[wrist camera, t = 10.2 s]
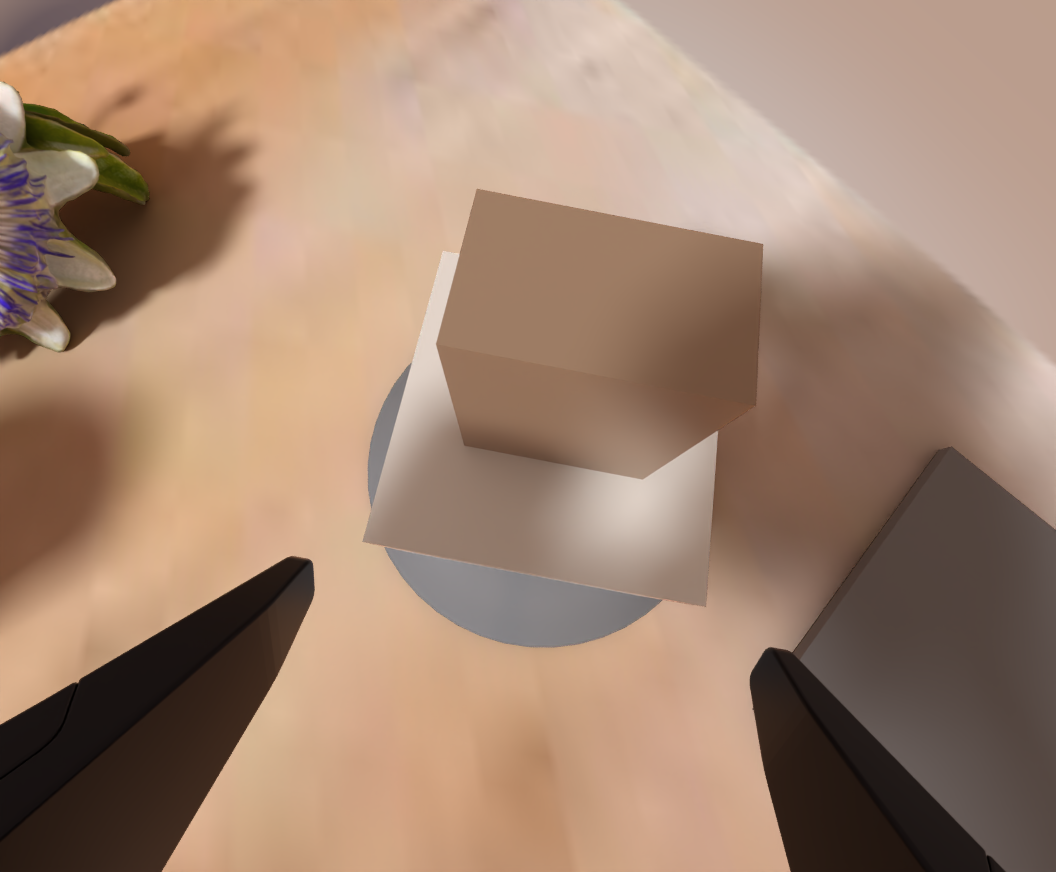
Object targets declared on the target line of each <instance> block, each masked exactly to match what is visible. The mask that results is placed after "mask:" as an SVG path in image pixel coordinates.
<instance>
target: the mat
mask: <svg viewBox="0 0 1056 872" xmlns="http://www.w3.org/2000/svg"><path fill="white" fill-rule="evenodd" d="M793 654H794V655H795V656H796V657H797V658H798V659H799V660H800V661H801V662H802V663H803V664H804V665H805V666H806V667H807V668H808V669H809V670H810V671H811V672H812V673H813V674H814V675H815V676H816V677H817V678H818V679H819V680H820V681H821V682H822V683H823V684H824V686H825V687H826V688H827V689H828V690H829V691H830V692H831V693H832V694H833V695H834V696H835V697H836V698H837V699H838V700H839V701H840V702H841V703H842V704H843V705H844V706H845V707H846V708H847V709H848V710H849V711H850V712H851V713H852V714H853V715H854V716H855V717H856V718H857V719H858V720H859V721H860V722H861V723H862V724H863V725H864V727H865V728H866V729H867V730H868V731H869V732H870V733H871V734H872V735H873V736H874V737H875V738H876V739H877V740H878V741H879V742H880V743H881V744H882V745H883V746H884V747H885V748H886V749H887V750H888V751H889V752H890V753H891V754H892V755H893V756H894V757H895V758H896V759H897V760H898V761H899V762H900V763H901V764H902V765H903V766H904V768H905V769H906V770H907V771H908V772H909V773H910V774H911V775H912V776H913V777H914V778H915V779H916V780H917V781H918V782H919V783H920V784H921V785H922V786H923V787H924V788H925V789H926V790H927V791H928V792H929V793H930V794H931V795H932V796H933V797H934V798H935V799H936V800H937V801H938V802H939V803H940V804H941V805H942V806H943V808H944V809H945V810H946V811H947V812H948V813H949V814H950V815H951V816H952V817H953V818H954V819H955V820H956V821H957V822H958V823H959V824H960V825H961V826H962V827H963V828H964V829H965V830H966V831H967V832H968V833H969V834H970V835H971V836H972V837H973V838H974V839H975V840H976V841H977V842H978V843H979V844H980V845H981V846H982V847H983V849H984V850H985V851H986V854H987V855H989V856H991V857H992V858H993V859H994V860H995V861H996V862H997V863H998V864H999V865H1000V866H1001V867H1002V868H1003V869H1004V870H1005V871H1006V872H1056V530H1055V529H1053V528H1052V527H1051V526H1050V525H1048V524H1047V523H1046V522H1045V521H1043V520H1042V519H1041V518H1040V517H1038V516H1037V515H1036V514H1035V513H1034V512H1032V511H1031V510H1030V509H1029V508H1027V507H1026V506H1025V505H1024V504H1022V503H1021V502H1020V501H1019V500H1017V499H1016V498H1015V497H1014V496H1012V495H1011V494H1010V493H1009V492H1007V491H1006V490H1005V489H1004V488H1002V487H1001V486H1000V485H999V484H997V483H996V482H995V481H994V480H992V479H991V478H990V477H989V476H987V475H986V474H985V473H984V472H982V471H981V470H980V469H979V468H977V467H976V466H975V465H974V464H973V463H971V462H970V461H969V460H968V459H966V458H965V457H964V456H963V455H961V454H960V453H959V452H958V451H956V450H955V449H954V448H953V447H948V448H944V449H941V450H938V452H937V453H936V455H935V456H934V457H933V459H932V460H931V462H930V463H929V464H928V466H927V467H926V469H925V470H924V471H923V473H922V474H921V475H920V477H919V478H918V480H917V481H916V482H915V484H914V485H913V487H912V488H911V489H910V491H909V492H908V494H907V495H906V496H905V498H904V499H903V501H902V502H901V503H900V505H899V506H898V507H897V509H896V510H895V512H894V513H893V514H892V516H891V517H890V519H889V520H888V521H887V523H886V524H885V526H884V527H883V528H882V530H881V531H880V533H879V534H878V535H877V537H876V538H875V539H874V541H873V542H872V544H871V545H870V546H869V548H868V549H867V551H866V552H865V553H864V555H863V556H862V558H861V559H860V560H859V562H858V563H857V565H856V566H855V567H854V569H853V570H852V571H851V573H850V574H849V576H848V577H847V578H846V580H845V581H844V583H843V584H842V585H841V587H840V588H839V590H838V591H837V592H836V594H835V595H834V597H833V598H832V599H831V601H830V602H829V603H828V605H827V606H826V608H825V609H824V610H823V612H822V613H821V615H820V616H819V617H818V619H817V620H816V622H815V623H814V624H813V626H812V627H811V629H810V630H809V631H808V633H807V634H806V635H805V637H804V638H803V640H802V641H801V642H800V644H799V645H798V647H797V648H796V649H795V651H794V652H793ZM753 710H754V708H753Z"/></svg>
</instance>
